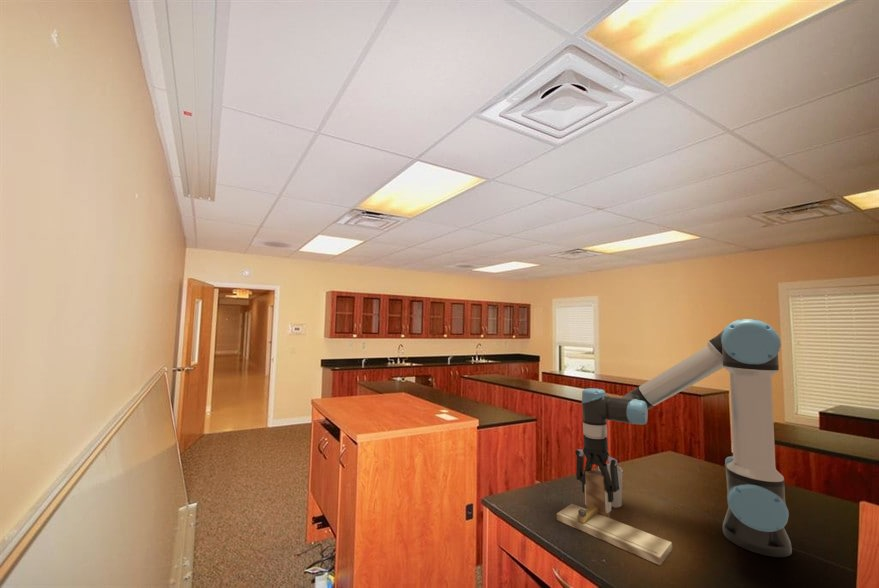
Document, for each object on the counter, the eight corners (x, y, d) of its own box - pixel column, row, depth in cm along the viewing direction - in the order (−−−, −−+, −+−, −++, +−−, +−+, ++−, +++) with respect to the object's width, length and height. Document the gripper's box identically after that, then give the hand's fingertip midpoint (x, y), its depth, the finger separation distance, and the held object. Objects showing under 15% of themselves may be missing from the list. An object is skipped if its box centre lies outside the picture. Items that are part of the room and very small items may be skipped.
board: (672, 549, 101) (671, 542, 101) (660, 565, 94) (659, 557, 94) (572, 509, 123) (572, 503, 123) (556, 519, 117) (556, 513, 117)
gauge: (610, 517, 118) (608, 473, 119) (590, 534, 109) (588, 485, 110) (592, 511, 122) (590, 468, 124) (571, 526, 113) (570, 479, 114)
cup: (598, 505, 126) (597, 469, 127) (600, 495, 133) (598, 462, 134) (624, 510, 122) (622, 474, 124) (624, 500, 129) (622, 466, 131)
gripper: (629, 439, 117) (632, 514, 114) (574, 427, 131) (576, 494, 129) (619, 444, 112) (623, 523, 109) (563, 431, 126) (565, 500, 124)
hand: (598, 507), depth 119 cm, fingers closed on gauge, 6 cm apart
